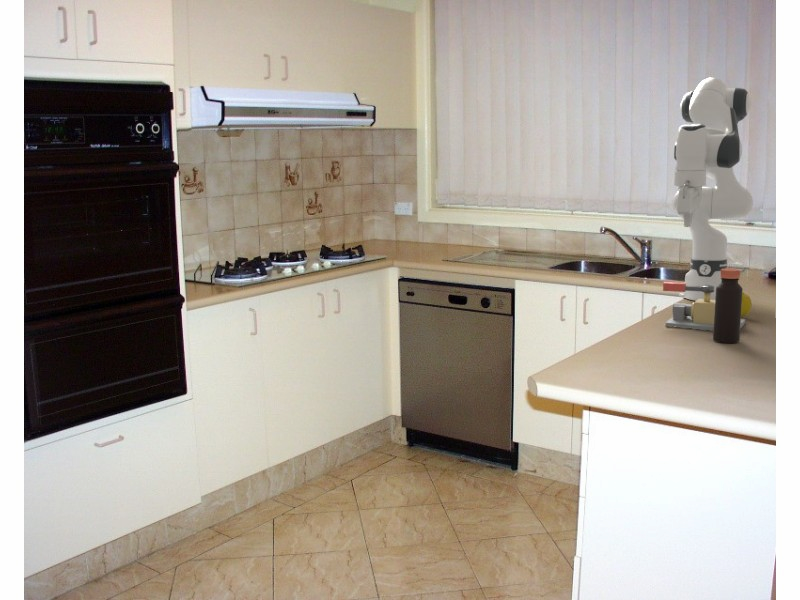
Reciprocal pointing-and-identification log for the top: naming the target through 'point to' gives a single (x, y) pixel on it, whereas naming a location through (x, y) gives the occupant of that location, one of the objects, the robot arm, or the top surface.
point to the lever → (686, 287)
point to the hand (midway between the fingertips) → (687, 226)
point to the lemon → (745, 305)
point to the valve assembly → (695, 314)
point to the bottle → (728, 307)
